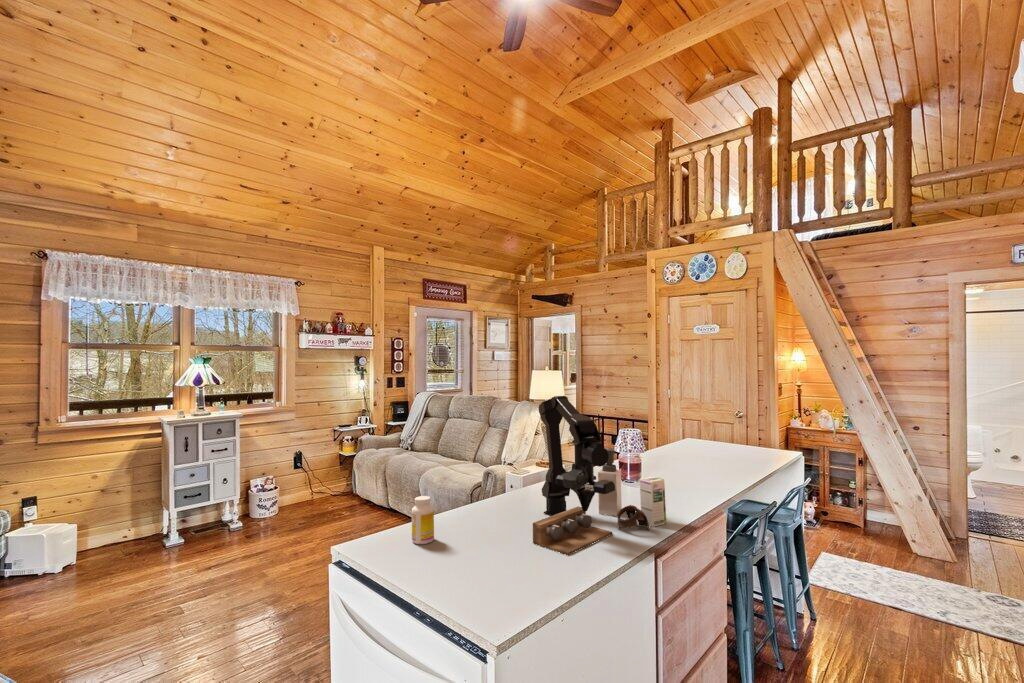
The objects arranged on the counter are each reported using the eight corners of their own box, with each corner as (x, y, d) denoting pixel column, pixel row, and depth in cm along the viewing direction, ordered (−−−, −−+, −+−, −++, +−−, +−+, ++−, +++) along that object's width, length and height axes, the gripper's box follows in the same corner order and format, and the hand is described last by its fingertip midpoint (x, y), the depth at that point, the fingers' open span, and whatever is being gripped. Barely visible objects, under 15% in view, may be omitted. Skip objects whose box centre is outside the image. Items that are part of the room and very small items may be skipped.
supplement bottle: (438, 538, 146) (437, 495, 146) (427, 546, 139) (427, 501, 140) (418, 535, 148) (418, 494, 148) (407, 543, 141) (407, 500, 142)
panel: (533, 543, 140) (532, 522, 140) (578, 524, 155) (578, 506, 156) (567, 555, 131) (567, 533, 131) (612, 534, 146) (611, 514, 146)
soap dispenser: (623, 509, 171) (621, 447, 172) (617, 516, 163) (615, 452, 164) (605, 507, 174) (603, 446, 175) (599, 514, 166) (597, 450, 167)
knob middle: (550, 529, 147) (550, 516, 147) (558, 526, 150) (557, 513, 150) (570, 535, 141) (570, 522, 142) (578, 532, 144) (577, 519, 144)
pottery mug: (655, 535, 146) (644, 514, 145) (627, 548, 147) (616, 527, 146) (645, 513, 158) (635, 493, 156) (620, 525, 159) (609, 505, 158)
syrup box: (653, 527, 152) (652, 481, 153) (640, 522, 157) (639, 477, 158) (666, 524, 154) (665, 479, 155) (653, 519, 160) (652, 475, 160)
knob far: (564, 523, 152) (564, 511, 152) (571, 520, 155) (571, 508, 155) (584, 529, 146) (584, 516, 146) (591, 526, 149) (591, 513, 149)
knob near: (535, 535, 142) (534, 522, 142) (543, 532, 145) (543, 519, 145) (555, 542, 136) (555, 528, 137) (563, 538, 139) (563, 525, 139)
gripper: (544, 460, 148) (545, 510, 147) (594, 468, 135) (595, 524, 134) (566, 454, 156) (567, 502, 155) (615, 462, 143) (616, 515, 142)
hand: (585, 510), depth 147 cm, fingers closed
